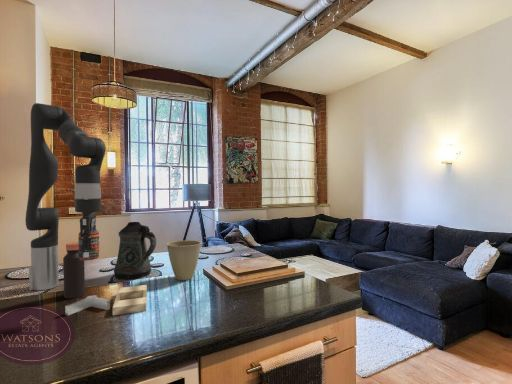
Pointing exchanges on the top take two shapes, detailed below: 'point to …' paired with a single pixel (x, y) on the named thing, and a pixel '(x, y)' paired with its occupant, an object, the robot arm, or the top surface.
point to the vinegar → (73, 273)
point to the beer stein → (134, 252)
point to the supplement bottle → (94, 250)
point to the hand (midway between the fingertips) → (88, 247)
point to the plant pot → (184, 258)
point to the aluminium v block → (87, 304)
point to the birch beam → (130, 300)
